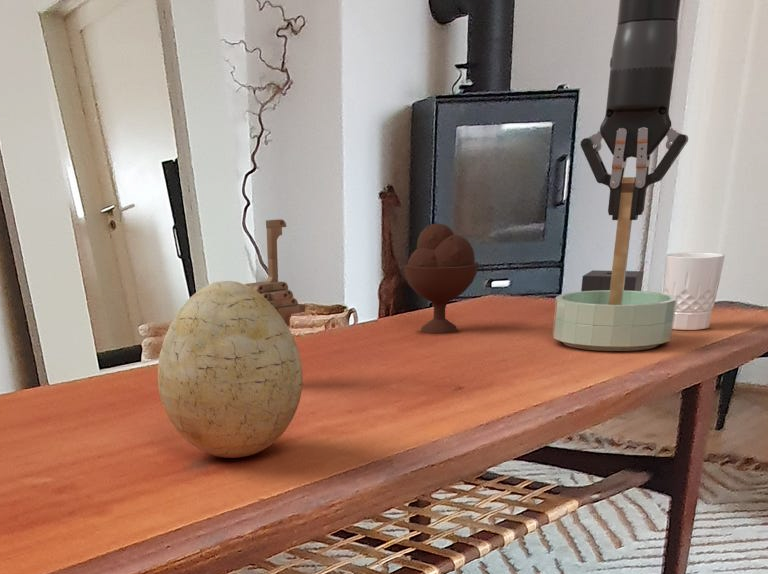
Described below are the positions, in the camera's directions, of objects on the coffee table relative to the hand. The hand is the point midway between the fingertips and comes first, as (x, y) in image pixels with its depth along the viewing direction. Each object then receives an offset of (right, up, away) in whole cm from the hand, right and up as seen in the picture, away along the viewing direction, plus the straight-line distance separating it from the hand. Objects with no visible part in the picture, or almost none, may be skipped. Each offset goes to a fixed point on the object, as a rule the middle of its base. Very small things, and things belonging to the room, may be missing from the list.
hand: (624, 219), depth 127 cm
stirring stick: (0, -12, +6) cm, 13 cm away
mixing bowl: (0, -14, +7) cm, 16 cm away
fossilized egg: (-49, -39, -38) cm, 73 cm away
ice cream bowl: (-21, -8, +21) cm, 31 cm away
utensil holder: (+9, -1, +32) cm, 33 cm away
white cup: (+15, -9, +17) cm, 24 cm away
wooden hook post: (-50, -26, -14) cm, 59 cm away
